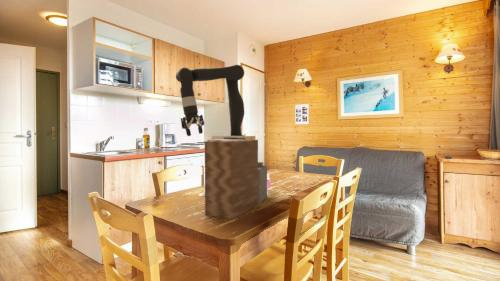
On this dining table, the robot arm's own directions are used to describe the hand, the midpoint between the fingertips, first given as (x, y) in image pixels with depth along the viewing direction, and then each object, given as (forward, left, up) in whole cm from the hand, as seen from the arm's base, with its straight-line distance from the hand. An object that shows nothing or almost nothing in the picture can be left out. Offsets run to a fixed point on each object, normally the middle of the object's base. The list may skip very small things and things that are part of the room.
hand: (195, 134), depth 148 cm
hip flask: (-14, +34, -34) cm, 50 cm away
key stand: (+6, +33, -34) cm, 48 cm away
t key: (+1, +28, -2) cm, 28 cm away
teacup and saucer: (-7, +5, -35) cm, 36 cm away
